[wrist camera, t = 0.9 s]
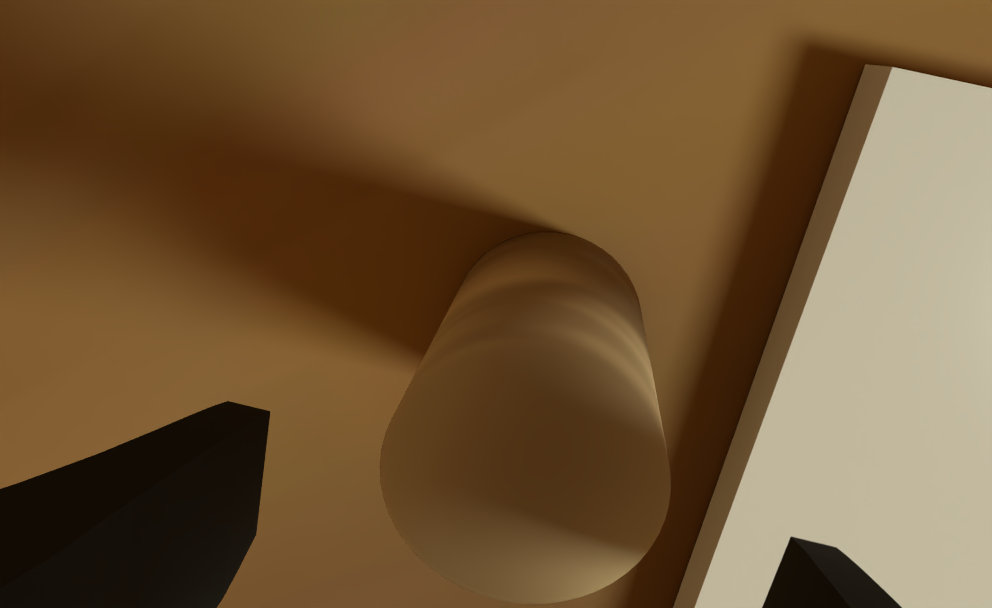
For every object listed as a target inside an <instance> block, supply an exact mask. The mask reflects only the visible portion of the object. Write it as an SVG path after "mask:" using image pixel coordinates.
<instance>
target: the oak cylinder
mask: <svg viewBox="0 0 992 608" xmlns="http://www.w3.org/2000/svg"><path fill="white" fill-rule="evenodd" d="M380 481H381V487H382V492H383V497H384V501H385V504H386V507H387V510H388V512H389V515H390V517H391V519H392V521H393V523H394V525H395V527H396V529H397V530H398V532H399V533H400V535H401V536H402V538H403V539H404V541H405V542H406V544H407V545H408V546H409V547H410V548H411V549H412V551H413V552H414V553H415V554H416V555H417V556H418V557H419V558H420V559H421V560H422V561H423V562H424V563H426V564H427V565H428V566H429V567H430V568H431V569H433V570H434V571H435V572H437V573H438V574H440V575H441V576H442V577H444V578H445V579H447V580H449V581H451V582H453V583H454V584H456V585H458V586H460V587H462V588H464V589H467V590H469V591H471V592H474V593H476V594H479V595H482V596H486V597H489V598H492V599H497V600H502V601H507V602H514V603H526V604H540V603H553V602H561V601H566V600H570V599H574V598H578V597H582V596H585V595H587V594H590V593H593V592H595V591H598V590H600V589H602V588H604V587H606V586H607V585H609V584H611V583H613V582H615V581H616V580H618V579H619V578H620V577H622V576H623V575H625V574H626V573H627V572H629V571H630V570H631V569H632V568H633V567H634V566H635V565H636V564H637V563H638V562H639V561H640V560H641V559H642V558H643V557H644V555H645V554H646V553H647V552H648V551H649V549H650V548H651V546H652V545H653V543H654V542H655V540H656V538H657V537H658V535H659V533H660V531H661V528H662V526H663V523H664V521H665V519H666V515H667V511H668V507H669V503H670V493H671V475H670V465H669V460H668V455H667V449H666V444H665V438H664V433H663V427H662V422H661V417H660V411H659V406H658V400H657V395H656V390H655V384H654V379H653V373H652V368H651V363H650V357H649V352H648V346H647V341H646V335H645V330H644V325H643V319H642V314H641V309H640V304H639V299H638V296H637V293H636V291H635V288H634V286H633V284H632V282H631V280H630V278H629V276H628V275H627V274H626V272H625V271H624V269H623V268H622V267H621V266H620V264H619V263H618V262H617V261H616V260H615V259H614V258H613V257H612V256H610V255H609V254H608V253H607V252H605V251H604V250H603V249H601V248H600V247H598V246H596V245H595V244H593V243H591V242H589V241H587V240H584V239H582V238H579V237H576V236H573V235H569V234H564V233H557V232H536V233H528V234H524V235H520V236H516V237H514V238H511V239H508V240H506V241H504V242H502V243H500V244H498V245H496V246H495V247H493V248H492V249H491V250H489V251H488V252H486V253H485V254H484V255H483V256H482V257H481V258H480V259H479V260H478V261H477V262H476V263H475V264H474V266H473V267H472V268H471V269H470V271H469V272H468V274H467V276H466V277H465V279H464V281H463V283H462V285H461V286H460V288H459V290H458V292H457V294H456V296H455V298H454V300H453V302H452V304H451V306H450V308H449V310H448V311H447V313H446V315H445V317H444V319H443V321H442V323H441V325H440V327H439V329H438V331H437V333H436V335H435V336H434V338H433V340H432V342H431V344H430V346H429V348H428V350H427V352H426V354H425V356H424V358H423V360H422V362H421V363H420V365H419V367H418V369H417V371H416V373H415V375H414V377H413V379H412V381H411V383H410V385H409V387H408V388H407V390H406V392H405V394H404V396H403V398H402V400H401V402H400V404H399V406H398V408H397V410H396V412H395V413H394V415H393V417H392V419H391V422H390V424H389V427H388V429H387V431H386V434H385V437H384V441H383V445H382V449H381V459H380Z"/></svg>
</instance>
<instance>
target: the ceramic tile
mask: <svg viewBox="0 0 992 608" xmlns="http://www.w3.org/2000/svg"><path fill="white" fill-rule="evenodd" d="M790 537H796V538H800V539H804V540H808V541H812V542H816V543H821V544H825V545H829V546H833V547H837V548H838V549H839V550H840V551H842V552H843V553H844V554H845V555H847V556H848V557H849V558H850V559H851V560H852V561H854V562H855V563H856V564H857V565H858V566H859V567H860V568H861V569H862V570H863V571H865V572H866V573H867V574H868V575H869V576H870V577H871V578H872V579H873V580H874V581H875V582H876V583H877V584H878V585H879V586H880V587H881V588H882V589H884V590H885V591H886V592H887V593H888V594H889V595H890V596H891V597H892V598H893V599H894V600H895V601H896V602H897V603H898V604H899V605H900V606H901V607H902V608H992V88H988V87H984V86H979V85H974V84H970V83H965V82H960V81H956V80H951V79H946V78H942V77H937V76H932V75H928V74H923V73H919V72H914V71H909V70H905V69H900V68H895V67H888V66H878V65H868V64H865V66H864V69H863V72H862V75H861V78H860V81H859V83H858V86H857V89H856V92H855V95H854V98H853V100H852V103H851V106H850V109H849V112H848V114H847V117H846V120H845V123H844V126H843V129H842V131H841V134H840V137H839V140H838V143H837V146H836V148H835V151H834V154H833V157H832V160H831V162H830V165H829V168H828V171H827V174H826V177H825V179H824V182H823V185H822V188H821V191H820V194H819V196H818V199H817V202H816V205H815V208H814V211H813V213H812V216H811V219H810V222H809V225H808V227H807V230H806V233H805V236H804V239H803V242H802V244H801V247H800V250H799V253H798V256H797V259H796V261H795V264H794V267H793V270H792V273H791V275H790V278H789V281H788V284H787V287H786V290H785V292H784V295H783V298H782V301H781V304H780V307H779V309H778V312H777V315H776V318H775V321H774V324H773V326H772V329H771V332H770V335H769V338H768V340H767V343H766V346H765V349H764V352H763V355H762V357H761V360H760V363H759V366H758V369H757V372H756V374H755V377H754V380H753V383H752V386H751V388H750V391H749V394H748V397H747V400H746V403H745V405H744V408H743V411H742V414H741V417H740V420H739V422H738V425H737V428H736V431H735V434H734V436H733V439H732V442H731V445H730V448H729V451H728V453H727V456H726V459H725V462H724V465H723V468H722V470H721V473H720V476H719V479H718V482H717V485H716V487H715V490H714V493H713V496H712V499H711V501H710V504H709V507H708V510H707V513H706V516H705V518H704V521H703V524H702V527H701V530H700V533H699V535H698V538H697V541H696V544H695V547H694V549H693V552H692V555H691V558H690V561H689V564H688V566H687V569H686V572H685V575H684V578H683V581H682V583H681V586H680V589H679V592H678V595H677V598H676V600H675V603H674V606H673V608H762V607H763V604H764V602H765V599H766V597H767V594H768V592H769V589H770V587H771V584H772V582H773V579H774V577H775V574H776V572H777V569H778V567H779V565H780V562H781V560H782V557H783V555H784V552H785V550H786V547H787V545H788V542H789V540H790Z"/></svg>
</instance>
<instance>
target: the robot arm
mask: <svg viewBox="0 0 992 608" xmlns="http://www.w3.org/2000/svg"><path fill="white" fill-rule="evenodd" d="M269 418H270V411H267V410H262V409H258V408H254V407H250V406H246V405H242V404H237V403H233V402H229V401H227V402H224V403H221V404H218V405H215V406H212V407H210V408H207V409H205V410H202V411H200V412H197V413H195V414H192V415H190V416H188V417H185V418H183V419H180V420H178V421H176V422H173V423H171V424H169V425H166V426H164V427H162V428H159V429H157V430H155V431H152V432H150V433H147V434H145V435H143V436H140V437H138V438H135V439H133V440H130V441H128V442H126V443H123V444H121V445H118V446H116V447H114V448H111V449H109V450H106V451H104V452H101V453H99V454H96V455H94V456H91V457H88V458H85V459H83V460H80V461H77V462H75V463H72V464H69V465H66V466H64V467H61V468H58V469H56V470H53V471H50V472H47V473H45V474H42V475H39V476H36V477H34V478H31V479H28V480H26V481H23V482H20V483H17V484H14V485H11V486H8V487H5V488H2V489H0V608H217V606H218V605H219V603H220V602H221V600H222V599H223V597H224V595H225V593H226V592H227V590H228V588H229V586H230V584H231V582H232V580H233V578H234V577H235V575H236V573H237V571H238V569H239V567H240V565H241V563H242V561H243V559H244V557H245V555H246V553H247V551H248V549H249V547H250V545H251V544H252V542H253V540H254V538H255V536H256V531H257V522H258V513H259V505H260V496H261V487H262V479H263V470H264V461H265V453H266V444H267V435H268V427H269ZM762 608H902V607H901V606H900V605H899V604H898V603H897V602H896V601H895V600H894V599H893V598H892V597H891V596H890V595H889V594H888V593H887V592H886V591H885V590H884V589H882V588H881V587H880V586H879V585H878V584H877V583H876V582H875V581H874V580H873V579H872V578H871V577H870V576H869V575H868V574H867V573H866V572H865V571H863V570H862V569H861V568H860V567H859V566H858V565H857V564H856V563H855V562H854V561H852V560H851V559H850V558H849V557H848V556H847V555H845V554H844V553H843V552H842V551H840V550H839V549H838V548H837V547H833V546H829V545H825V544H821V543H816V542H812V541H808V540H804V539H800V538H796V537H790V540H789V542H788V545H787V547H786V550H785V552H784V555H783V557H782V560H781V562H780V565H779V567H778V569H777V572H776V574H775V577H774V579H773V582H772V584H771V587H770V589H769V592H768V594H767V597H766V599H765V602H764V604H763V607H762Z"/></svg>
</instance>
